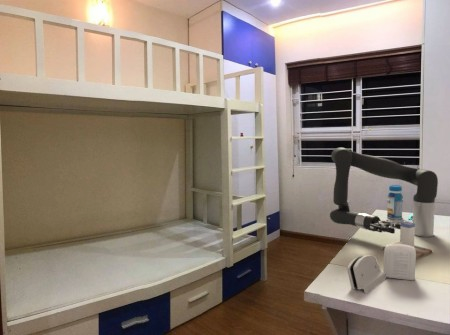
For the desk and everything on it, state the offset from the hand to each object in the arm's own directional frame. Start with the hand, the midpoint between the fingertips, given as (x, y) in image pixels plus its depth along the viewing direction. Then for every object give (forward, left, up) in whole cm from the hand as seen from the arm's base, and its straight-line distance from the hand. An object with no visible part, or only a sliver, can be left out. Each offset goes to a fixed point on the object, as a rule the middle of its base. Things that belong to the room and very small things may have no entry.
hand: (399, 229), depth 145 cm
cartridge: (0, +3, -8) cm, 9 cm away
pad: (0, +3, -9) cm, 10 cm away
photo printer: (+28, +16, -9) cm, 34 cm away
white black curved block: (+41, +12, -9) cm, 44 cm away
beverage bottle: (-50, -33, -9) cm, 60 cm away
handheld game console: (-62, -24, -10) cm, 67 cm away
